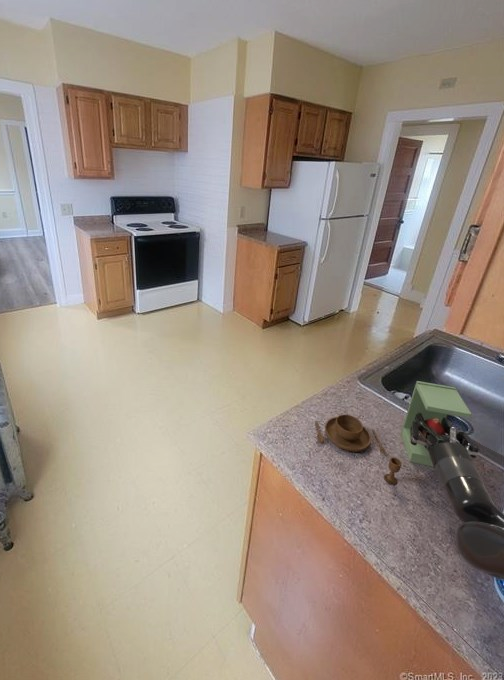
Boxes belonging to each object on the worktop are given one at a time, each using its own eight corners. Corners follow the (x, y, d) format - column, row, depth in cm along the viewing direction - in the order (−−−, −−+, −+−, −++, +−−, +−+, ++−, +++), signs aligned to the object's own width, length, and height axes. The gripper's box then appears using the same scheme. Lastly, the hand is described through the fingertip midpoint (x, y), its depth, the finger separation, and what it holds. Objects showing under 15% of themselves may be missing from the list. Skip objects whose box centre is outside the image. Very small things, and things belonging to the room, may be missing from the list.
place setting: (372, 424, 94) (376, 408, 92) (401, 485, 76) (407, 467, 74) (311, 418, 96) (314, 402, 93) (325, 477, 77) (329, 459, 75)
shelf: (449, 470, 80) (472, 413, 73) (409, 461, 82) (428, 405, 76) (436, 440, 89) (455, 387, 82) (400, 433, 91) (416, 380, 84)
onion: (412, 443, 83) (420, 419, 80) (417, 431, 87) (425, 407, 84) (439, 455, 80) (448, 430, 77) (442, 442, 84) (451, 418, 81)
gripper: (501, 466, 65) (466, 411, 80) (423, 449, 69) (403, 400, 84) (489, 492, 68) (457, 435, 83) (414, 475, 71) (397, 423, 87)
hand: (430, 417), depth 83 cm, fingers closed on onion, 5 cm apart
